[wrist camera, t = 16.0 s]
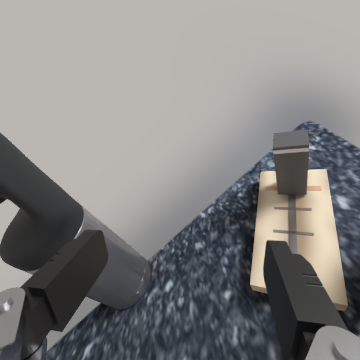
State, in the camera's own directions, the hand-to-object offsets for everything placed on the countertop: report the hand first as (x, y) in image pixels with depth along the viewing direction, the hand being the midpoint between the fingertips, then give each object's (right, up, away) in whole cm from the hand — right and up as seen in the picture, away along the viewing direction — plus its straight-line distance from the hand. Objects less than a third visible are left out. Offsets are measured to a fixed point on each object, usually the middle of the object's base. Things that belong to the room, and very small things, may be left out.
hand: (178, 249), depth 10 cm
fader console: (+17, -4, +21) cm, 28 cm away
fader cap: (+18, +2, +23) cm, 30 cm away
